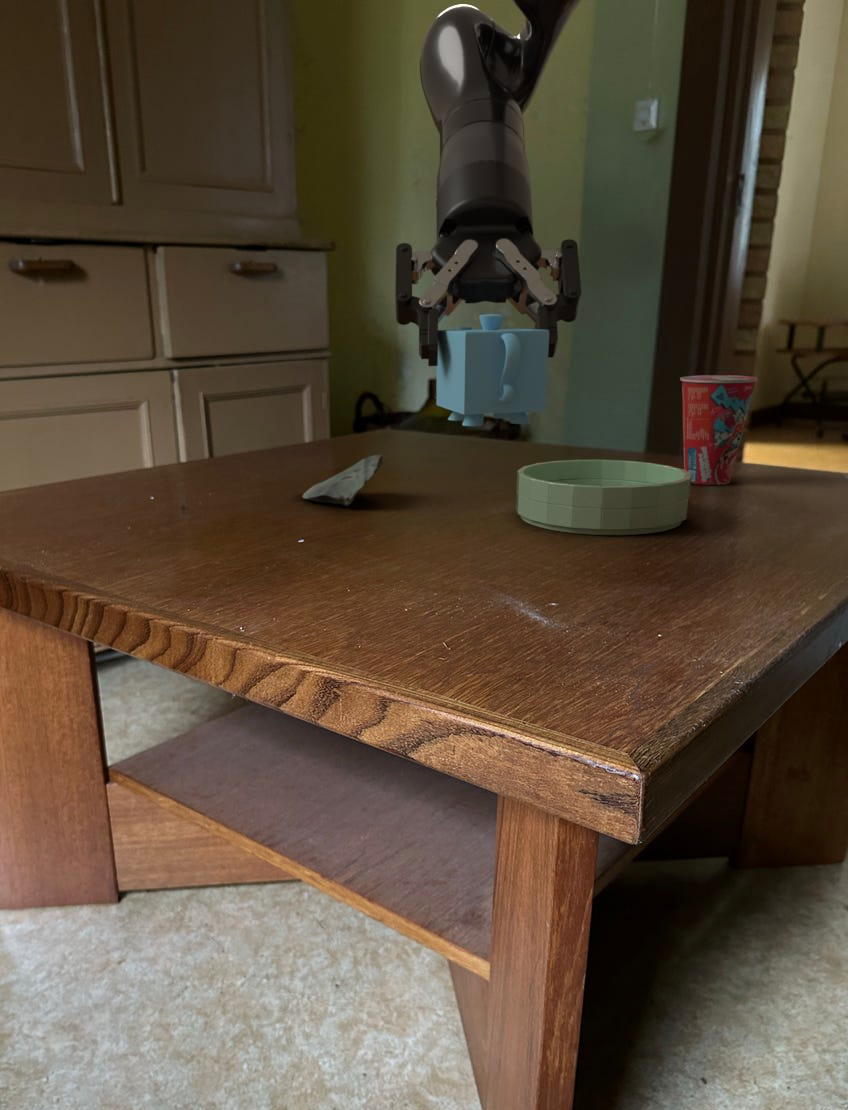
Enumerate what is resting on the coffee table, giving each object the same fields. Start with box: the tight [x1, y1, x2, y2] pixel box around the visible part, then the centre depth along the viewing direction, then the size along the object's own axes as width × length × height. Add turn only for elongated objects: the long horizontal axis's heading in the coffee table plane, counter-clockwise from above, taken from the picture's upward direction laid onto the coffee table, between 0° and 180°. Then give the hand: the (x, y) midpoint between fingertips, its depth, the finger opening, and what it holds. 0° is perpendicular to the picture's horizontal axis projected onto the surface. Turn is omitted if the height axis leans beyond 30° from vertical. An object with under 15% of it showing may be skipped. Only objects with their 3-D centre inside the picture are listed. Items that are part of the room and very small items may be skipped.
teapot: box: [435, 313, 549, 427], centre depth 68 cm, size 12×6×8 cm, turn 12°
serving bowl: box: [515, 459, 692, 536], centre depth 90 cm, size 16×16×4 cm
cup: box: [679, 374, 759, 486], centre depth 107 cm, size 9×8×12 cm
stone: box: [302, 454, 384, 507], centre depth 100 cm, size 11×4×10 cm
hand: (488, 357), depth 66 cm, fingers closed on teapot, 7 cm apart
